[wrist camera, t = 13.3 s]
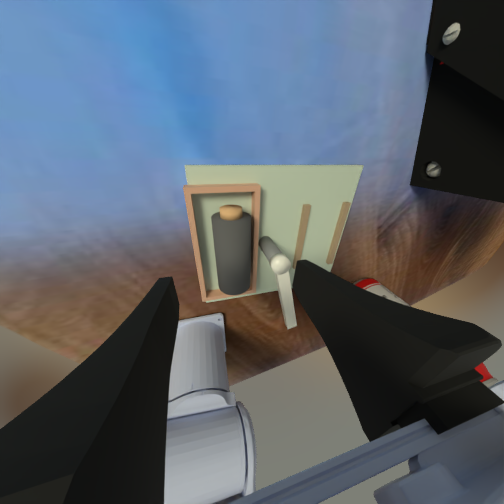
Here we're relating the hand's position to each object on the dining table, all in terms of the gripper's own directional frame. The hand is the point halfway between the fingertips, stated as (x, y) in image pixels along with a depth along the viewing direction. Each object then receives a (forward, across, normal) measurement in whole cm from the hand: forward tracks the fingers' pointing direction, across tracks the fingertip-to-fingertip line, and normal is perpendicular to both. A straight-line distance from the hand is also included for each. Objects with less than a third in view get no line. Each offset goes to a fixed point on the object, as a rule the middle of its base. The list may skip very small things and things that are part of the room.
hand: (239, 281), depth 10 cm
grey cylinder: (+9, 0, +3) cm, 10 cm away
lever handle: (+5, -6, +7) cm, 11 cm away
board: (+10, -6, +3) cm, 12 cm away
